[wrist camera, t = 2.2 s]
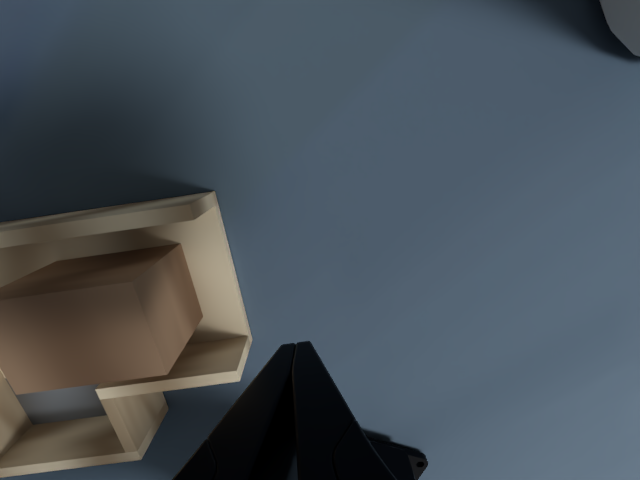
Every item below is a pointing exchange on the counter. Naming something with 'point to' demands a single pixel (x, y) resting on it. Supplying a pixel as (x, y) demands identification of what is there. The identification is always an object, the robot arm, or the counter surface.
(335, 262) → the counter surface
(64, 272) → the walnut block
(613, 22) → the supplement can
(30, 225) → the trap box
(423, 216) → the counter surface
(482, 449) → the counter surface
